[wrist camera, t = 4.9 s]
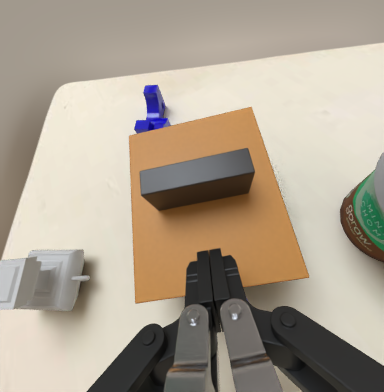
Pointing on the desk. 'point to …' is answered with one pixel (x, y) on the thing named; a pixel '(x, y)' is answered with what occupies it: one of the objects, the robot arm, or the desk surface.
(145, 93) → the cable holder
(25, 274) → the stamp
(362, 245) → the food container
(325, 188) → the desk surface
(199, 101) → the desk surface
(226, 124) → the lid
